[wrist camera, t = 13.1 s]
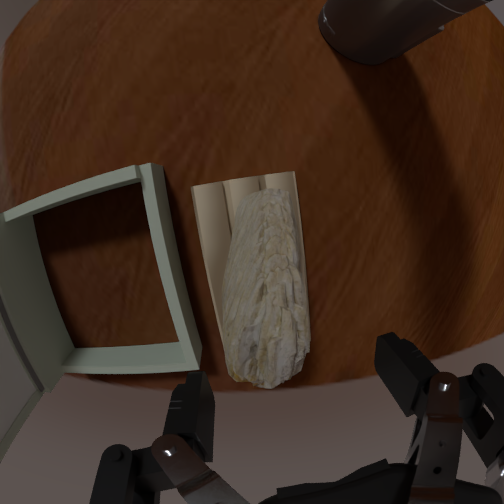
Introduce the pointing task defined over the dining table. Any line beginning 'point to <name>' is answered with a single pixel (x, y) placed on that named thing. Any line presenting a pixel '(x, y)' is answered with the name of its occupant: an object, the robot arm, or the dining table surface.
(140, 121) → the dining table surface
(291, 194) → the slatted stand
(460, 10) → the robot arm
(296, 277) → the fossil tooth
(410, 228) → the dining table surface
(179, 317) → the cold frame
